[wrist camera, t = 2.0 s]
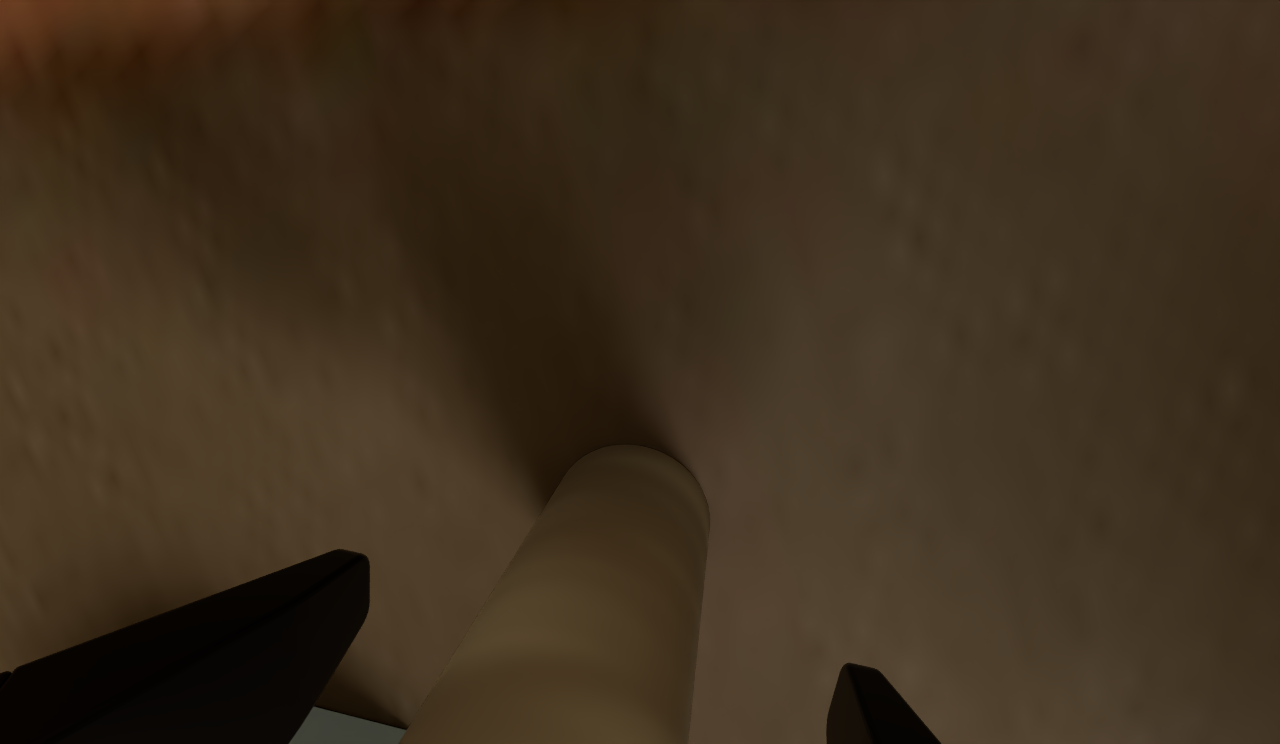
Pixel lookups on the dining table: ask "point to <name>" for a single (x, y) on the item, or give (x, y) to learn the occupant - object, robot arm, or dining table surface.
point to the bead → (343, 730)
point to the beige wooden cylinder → (587, 617)
